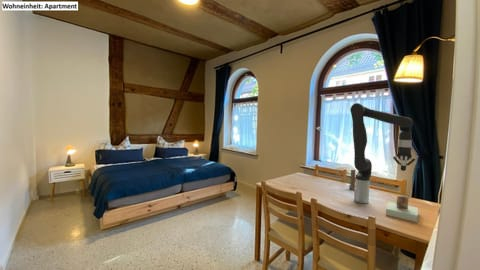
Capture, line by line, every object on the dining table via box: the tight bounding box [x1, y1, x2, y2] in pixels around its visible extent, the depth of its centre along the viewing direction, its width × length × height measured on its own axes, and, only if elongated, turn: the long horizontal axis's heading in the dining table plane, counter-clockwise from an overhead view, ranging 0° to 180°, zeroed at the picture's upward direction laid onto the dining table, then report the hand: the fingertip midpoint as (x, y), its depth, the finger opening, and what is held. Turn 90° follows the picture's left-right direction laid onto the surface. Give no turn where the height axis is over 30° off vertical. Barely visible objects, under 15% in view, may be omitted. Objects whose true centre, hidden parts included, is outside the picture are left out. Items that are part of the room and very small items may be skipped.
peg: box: [396, 194, 409, 210], centre depth 140 cm, size 6×6×12 cm
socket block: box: [385, 201, 419, 223], centre depth 140 cm, size 16×16×4 cm
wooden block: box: [348, 168, 356, 191], centre depth 191 cm, size 4×11×18 cm, turn 99°
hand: (403, 170), depth 148 cm, fingers closed
